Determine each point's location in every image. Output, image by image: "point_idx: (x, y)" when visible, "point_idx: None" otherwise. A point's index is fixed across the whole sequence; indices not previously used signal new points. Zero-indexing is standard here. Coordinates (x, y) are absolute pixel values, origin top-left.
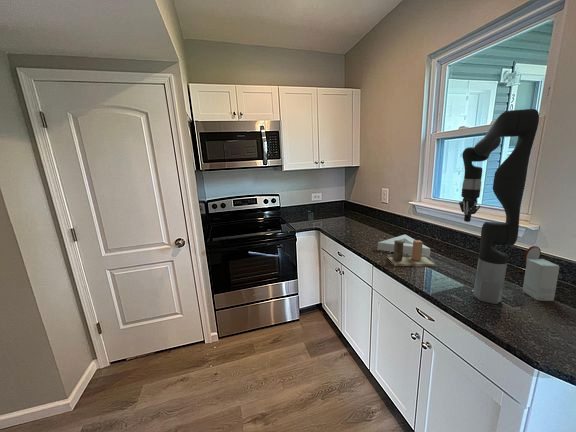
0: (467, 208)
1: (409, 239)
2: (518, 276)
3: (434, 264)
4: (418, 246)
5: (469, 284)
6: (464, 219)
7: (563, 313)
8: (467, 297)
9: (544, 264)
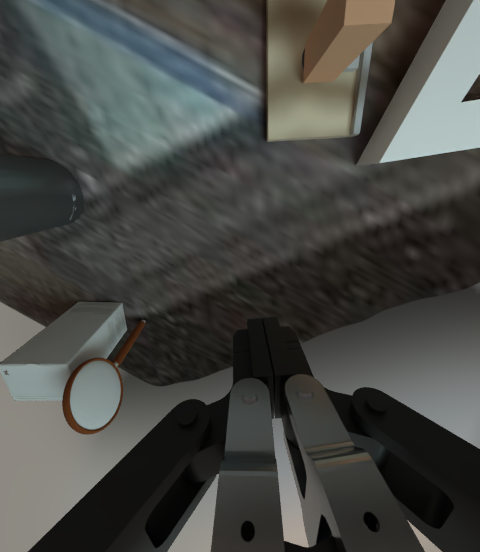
0: (215, 514)
1: None
2: (205, 341)
3: (268, 138)
4: (333, 10)
5: (130, 191)
6: (273, 325)
7: (35, 312)
8: (30, 131)
9: (10, 375)
